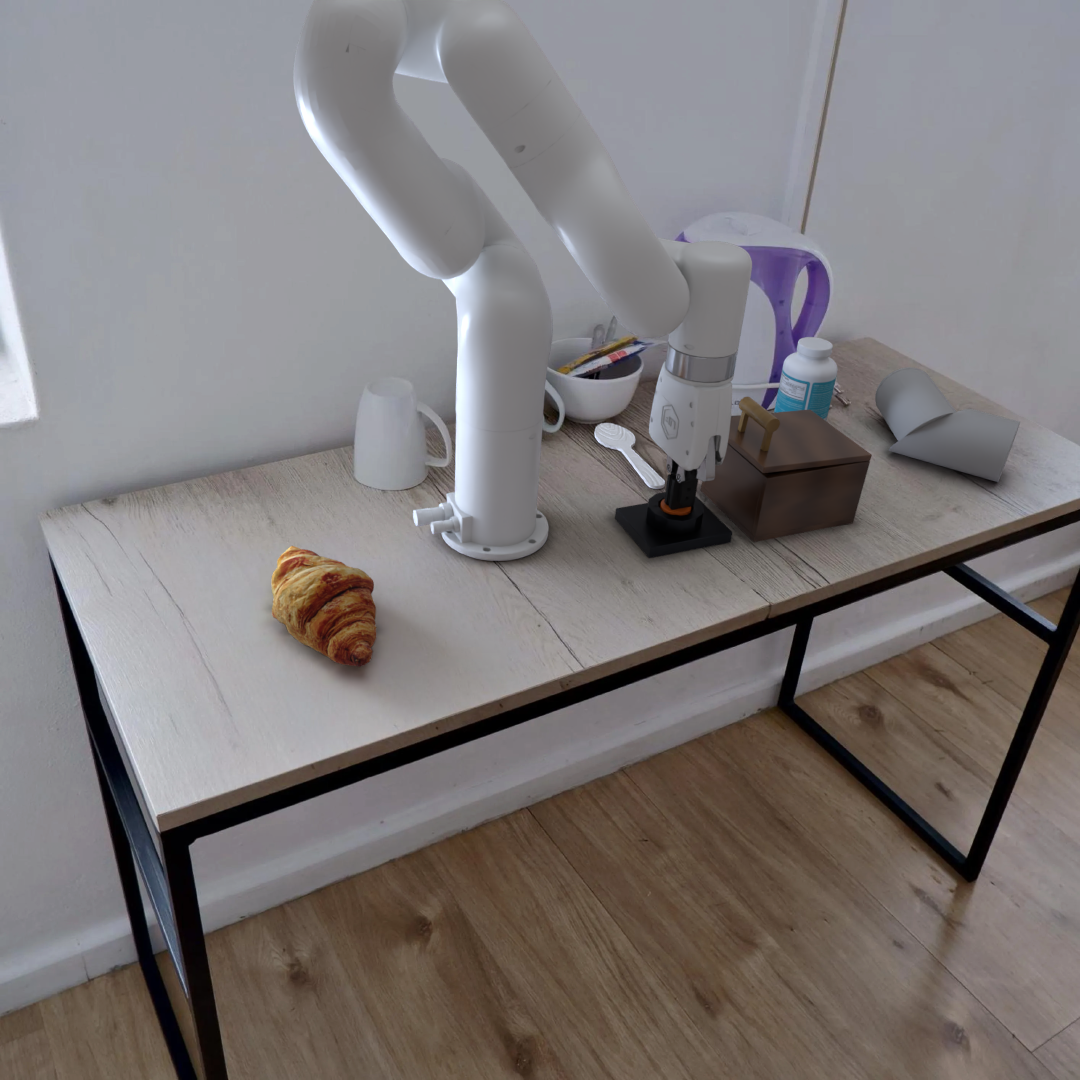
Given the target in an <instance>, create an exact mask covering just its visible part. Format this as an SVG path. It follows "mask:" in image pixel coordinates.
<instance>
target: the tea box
mask: <svg viewBox="0 0 1080 1080" xmlns="http://www.w3.org/2000/svg"><path fill="white" fill-rule="evenodd" d="M870 463H871V460H870V461H861V462H853V463H845V464H836V465H828V466H820V467H811V468H803V469H795V470H786V471H778V472H770V473H762V472H761V471H760V470H759V469H757V468H756V467H755V466H754V465H753V464H752V463H751V462H749V461H748V460H747V459H746V458H745V457H744V456H743V455H741V454H740V453H739V452H738V451H737V450H736V449H734V448H733V447H732V446H731V445H730V444H729V443H728V445H727V450H726V454H725V457H724V460H723V462H722V464H721V465H719V466H718V465H715V479H714V480H712V481H707V482H703V481H701V486H700V492H701V493H702V494H704V495H705V496H706V497H707V498H708V499H709V501H711V502H712V503H713V504H714V505H715V506H716V507H717V508H718V510H720V511H721V512H722V513H723V514H724V515H725V516H726V517H727V518H728V519H729V520H730V521H731V522H732V523H733V524H734V525H735V526H737V528H738V529H739V530H740V531H741V532H743V534H744V535H746V537H748V539H750V540H751V541H752V542H753V543H758V542H762V541H768V540H773V539H778V538H784V537H789V536H793V535H799V534H805V533H808V532H813V531H818V530H823V529H829V528H834V527H840V526H844V525H849V524H850V525H851V524H853V523H854V521H855V517H856V513H857V510H858V507H859V504H860V499H861V495H862V492H863V490H864V486H865V481H866V477H867V475H868V472H869V467H870Z"/></svg>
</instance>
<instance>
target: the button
mask: <svg viewBox="0 0 1080 1080" xmlns="http://www.w3.org/2000/svg"><path fill="white" fill-rule="evenodd" d="M664 500H665V499H663V500H662V501H661V505H660V509H661V510H662V511H664V512H666V513H668V514H671V515H680V516H681V515H687V514H689V513H690V512H691V507H686V508H681V509H675V510H671V509H670V508H669V505H666V503H665V502H664Z"/></svg>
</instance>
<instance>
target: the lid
mask: <svg viewBox="0 0 1080 1080" xmlns="http://www.w3.org/2000/svg"><path fill="white" fill-rule="evenodd" d="M738 408H739V410H740V411H741V414H740V415H734V416H731V421H730V431H729V438H728V443H729V444H730V445H731V446H732V447H733V448H734V449H736V450H737V451H738V452H739V453H740V454H741V455H743V456H744V457H745V458H746V459H747V460H748V461H749V462H751V463H752V464H753V465H754V466H755V467H756V468H757V469H759V470H760V471H761V472H762V473H770V472H778V471H786V470H795V469H803V468H811V467H820V466H828V465H836V464H845V463H853V462H861V461H870V462H871V459H872V457H873V455H872V453H870V452H869V451H867V450H866V449H865V448H864V447H862V446H861V445H859V444H858V443H856V442H855V441H853V440H852V439H851V438H850V437H848V436H847V435H846V434H844V433H843V432H842V431H840V430H839V429H837V427H835V426H833V425H832V424H831V423H829V422H828V421H827V420H826V421H825V420H824V419H822V418H821V417H820V416H818V415H817V414H816V413H814V412H813V411H812V410H810V409H809V410H798V411H787V412H776V413H774V412H770V411H769V410H767V409H766V408H765V407H764V406H762V405H761V404H760V403H758V402H757V401H755V400H754V399H753V398H752V397H750V396H744V397H742V398H741V399H740V401H739V403H738Z"/></svg>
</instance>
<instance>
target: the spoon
mask: <svg viewBox="0 0 1080 1080" xmlns="http://www.w3.org/2000/svg"><path fill="white" fill-rule="evenodd" d="M594 439H595V440H596V441H597V442H598V443H599V444H600V445H601V446H603V447H605V448H608V449H611V450H615V451H616V450H617V451H619V452H621V454H622V455H623V456H624V457H625V458H626V460H627V461H628V463H629V464H630V465H631V467H632V468H633V469H634V470H635V472H636V473H637V474H638V476H639V477H640V478H641V479H642V481H643V482H644V483H645V485H646V486H647V487H648V488H651V489H654V490H660V489H663V488H665V487H666V481H665V479H664V478H662V476H660V475H659V473H658V472H656V470H654V469H653V467H651V466H650V464H648V463H647V462H646V461H645V460H644V459H643V458H642V457H641V456H640V454H638V453H637V452H636V451H635V450H634V449H633V448H634V446H635V445H636V436H635V435H634V433H633V432H632V431H631V430H629V429H627V428H626V427H623V426H622V425H619V424H615V423H613V422H612V423H611V422H601V423H598V424H597V425H596V426H595V429H594Z"/></svg>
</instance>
